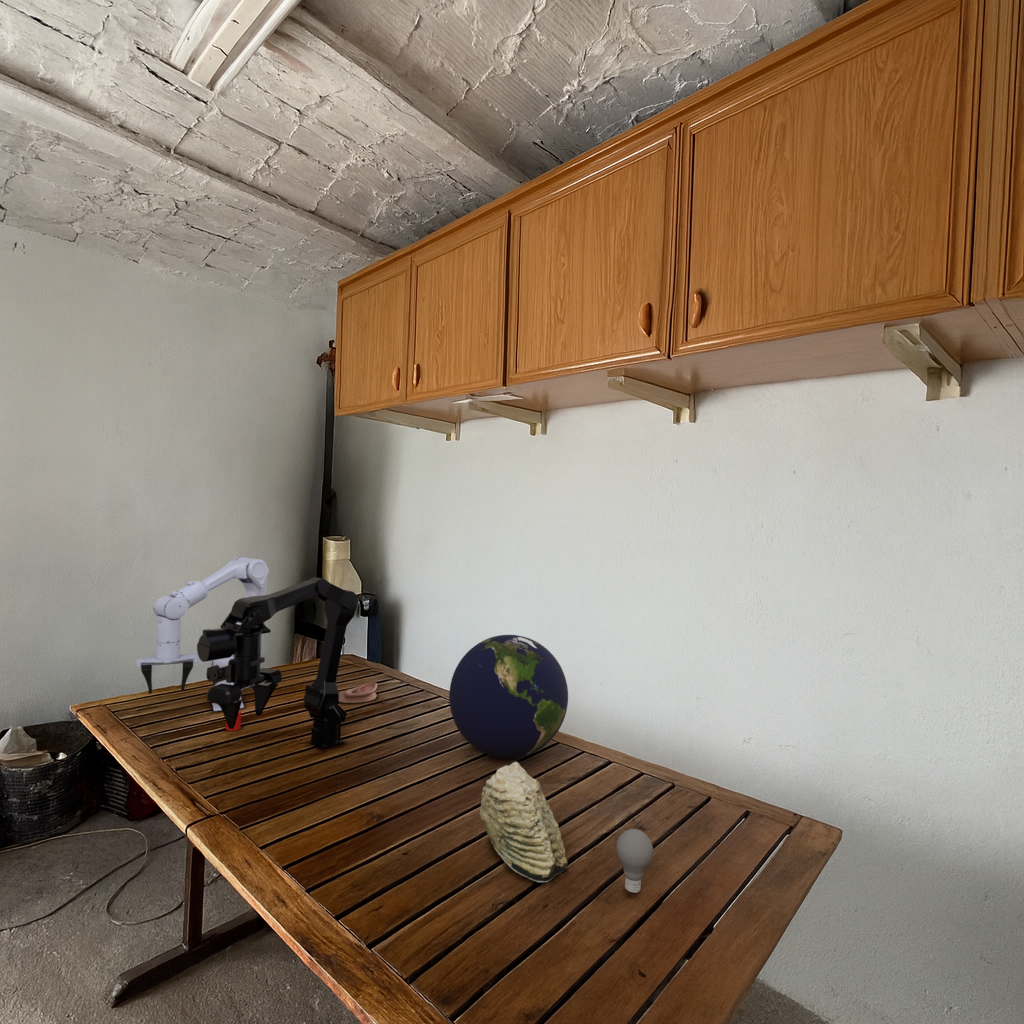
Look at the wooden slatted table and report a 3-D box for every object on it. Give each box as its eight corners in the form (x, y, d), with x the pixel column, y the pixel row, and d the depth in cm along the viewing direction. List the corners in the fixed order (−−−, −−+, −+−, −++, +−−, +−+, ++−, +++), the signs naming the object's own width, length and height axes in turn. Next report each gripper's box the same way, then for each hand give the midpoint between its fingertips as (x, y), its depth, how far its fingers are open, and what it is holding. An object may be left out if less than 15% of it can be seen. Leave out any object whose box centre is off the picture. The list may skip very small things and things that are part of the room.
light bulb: (610, 879, 108) (613, 822, 108) (644, 879, 109) (647, 822, 109) (619, 902, 102) (622, 840, 102) (655, 901, 103) (658, 840, 103)
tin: (228, 725, 172) (229, 709, 172) (242, 725, 172) (243, 710, 172) (223, 730, 168) (224, 714, 168) (237, 730, 168) (238, 714, 168)
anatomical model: (326, 688, 195) (343, 678, 206) (325, 700, 195) (343, 690, 206) (366, 692, 192) (381, 682, 203) (365, 705, 192) (381, 694, 203)
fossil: (501, 827, 124) (504, 751, 124) (575, 868, 111) (578, 784, 111) (467, 843, 118) (470, 763, 118) (541, 889, 105) (545, 799, 105)
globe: (495, 724, 181) (499, 619, 180) (587, 752, 163) (592, 636, 163) (421, 755, 157) (426, 635, 156) (520, 792, 139) (526, 657, 139)
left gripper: (136, 646, 164) (134, 698, 164) (199, 642, 171) (197, 692, 171) (137, 640, 170) (135, 690, 171) (197, 636, 177) (196, 685, 178)
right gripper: (244, 642, 156) (242, 705, 156) (187, 659, 138) (184, 731, 138) (284, 646, 153) (281, 711, 153) (230, 665, 135) (228, 738, 135)
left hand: (166, 690), depth 171 cm, fingers open, 7 cm apart
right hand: (245, 721), depth 145 cm, fingers open, 9 cm apart
